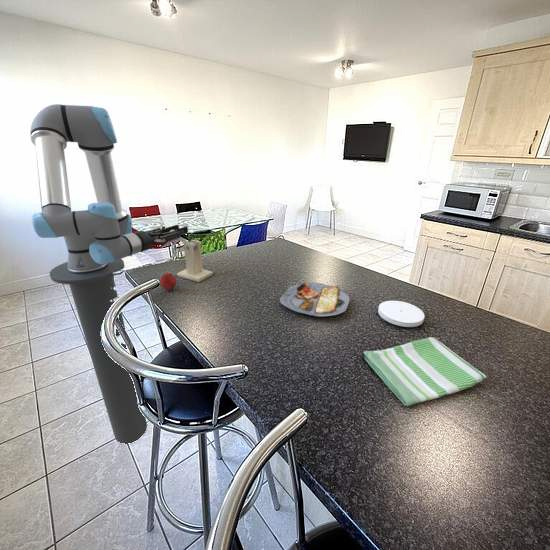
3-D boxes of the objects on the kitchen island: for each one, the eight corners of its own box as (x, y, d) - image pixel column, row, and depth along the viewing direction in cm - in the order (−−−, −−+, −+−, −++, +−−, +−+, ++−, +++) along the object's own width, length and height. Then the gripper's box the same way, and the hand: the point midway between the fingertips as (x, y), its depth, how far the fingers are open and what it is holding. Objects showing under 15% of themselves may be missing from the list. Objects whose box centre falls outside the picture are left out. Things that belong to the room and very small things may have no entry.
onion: (158, 291, 110) (154, 272, 107) (170, 286, 114) (167, 267, 111) (168, 295, 107) (165, 276, 104) (180, 289, 112) (178, 270, 108)
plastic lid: (368, 310, 100) (369, 304, 99) (400, 304, 105) (402, 297, 104) (398, 333, 88) (399, 326, 87) (432, 324, 93) (434, 318, 92)
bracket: (177, 275, 123) (172, 242, 117) (192, 268, 130) (188, 237, 124) (198, 282, 118) (195, 247, 112) (213, 274, 125) (210, 241, 119)
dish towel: (360, 356, 78) (361, 348, 77) (430, 341, 85) (432, 333, 84) (406, 409, 63) (408, 399, 62) (487, 386, 69) (491, 377, 68)
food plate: (294, 283, 119) (294, 275, 118) (352, 293, 112) (353, 285, 110) (272, 312, 98) (272, 303, 96) (342, 328, 90) (343, 318, 89)
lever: (165, 236, 122) (166, 229, 120) (172, 234, 125) (173, 227, 123) (191, 252, 118) (192, 245, 116) (197, 250, 121) (198, 242, 119)
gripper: (122, 248, 112) (169, 234, 131) (154, 256, 105) (198, 240, 123) (118, 229, 109) (167, 217, 128) (150, 236, 102) (197, 222, 120)
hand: (182, 228), depth 126 cm, fingers closed on lever, 4 cm apart
